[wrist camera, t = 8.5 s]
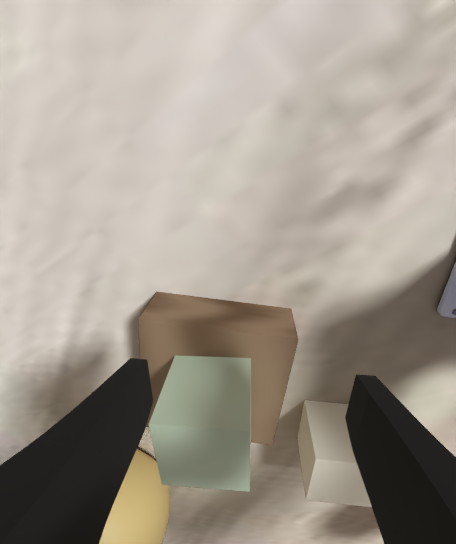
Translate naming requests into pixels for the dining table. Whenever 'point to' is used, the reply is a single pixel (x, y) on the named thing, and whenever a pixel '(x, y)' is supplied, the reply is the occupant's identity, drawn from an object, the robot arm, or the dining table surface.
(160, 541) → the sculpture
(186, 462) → the sage cube
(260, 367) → the walnut block
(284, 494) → the dining table surface
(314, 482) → the cream cube
